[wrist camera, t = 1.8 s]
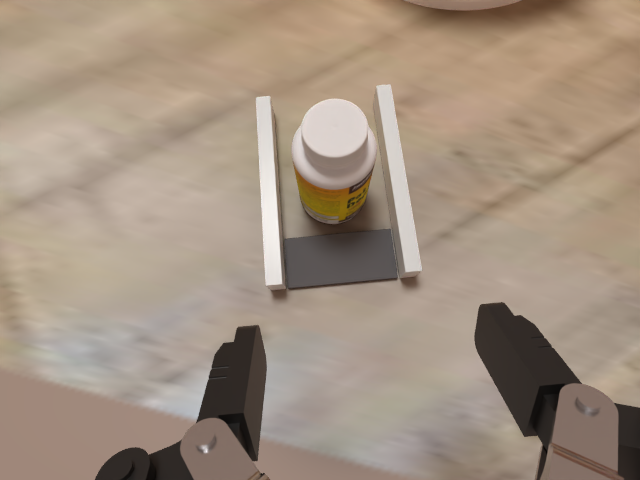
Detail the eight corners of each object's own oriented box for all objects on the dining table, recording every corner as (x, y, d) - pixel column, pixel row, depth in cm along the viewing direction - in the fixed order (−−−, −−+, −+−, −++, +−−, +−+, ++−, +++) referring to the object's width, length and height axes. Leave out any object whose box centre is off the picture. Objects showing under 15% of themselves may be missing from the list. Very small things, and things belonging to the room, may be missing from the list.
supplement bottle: (349, 236, 30) (358, 185, 21) (289, 209, 31) (269, 147, 21) (376, 180, 32) (397, 106, 22) (317, 155, 33) (312, 73, 23)
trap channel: (414, 276, 29) (422, 270, 27) (271, 290, 29) (265, 285, 27) (386, 102, 34) (390, 84, 31) (261, 114, 34) (255, 97, 31)
